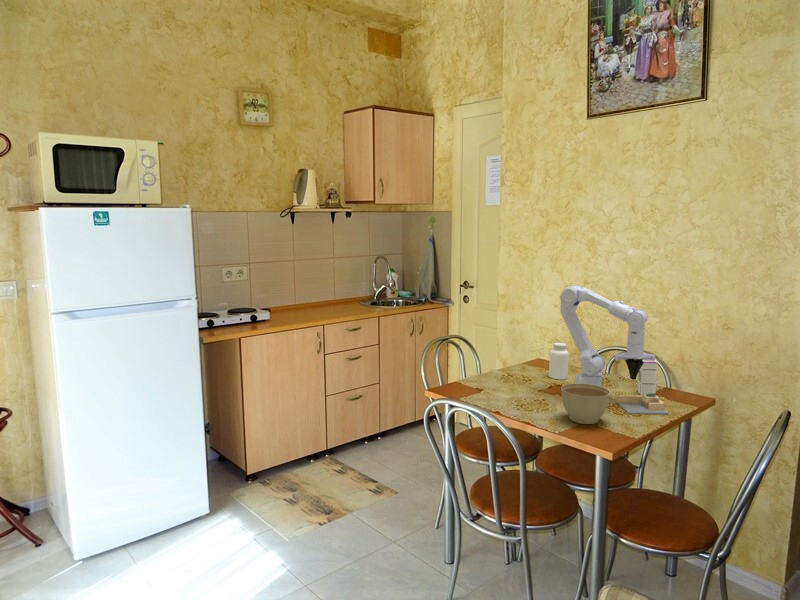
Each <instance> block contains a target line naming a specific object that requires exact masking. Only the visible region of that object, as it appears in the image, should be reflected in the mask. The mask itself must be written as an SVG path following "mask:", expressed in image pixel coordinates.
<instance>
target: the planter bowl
mask: <svg viewBox="0 0 800 600" xmlns="http://www.w3.org/2000/svg"><path fill="white" fill-rule="evenodd" d="M560 391H561V401H562V405H563V408H564V410H565V411H566V412H567V414H568V417H569V420H571V421H572V422H575V423H578V424H584V425H593V424H597V423H598V422H599V419H600V418H601V417H602V416H603V415H604V414H605V412H606V410H607V409H608V406H609V403H610V397H611V391H610V389H608V388H607V387H603V386H602V387H601V386H598V385H592V384H583V383H576V382H574V383H573V382H572V383H566V384H564V385H562V386H561V387H560Z"/></svg>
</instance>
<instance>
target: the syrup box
mask: <svg viewBox="0 0 800 600" xmlns="http://www.w3.org/2000/svg"><path fill="white" fill-rule="evenodd" d="M642 361H643V362H644V364H643V365H642V367H641V368H640V370H639V372H638V374H637V392H638V395H642V394H646V393H655V394H656V391H657V390H656V389H657V388H656V387H657V371H658V360H657V359H656V358H655V361H652V360H642Z"/></svg>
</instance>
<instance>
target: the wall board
mask: <svg viewBox="0 0 800 600" xmlns="http://www.w3.org/2000/svg"><path fill="white" fill-rule="evenodd" d="M641 401H642V395H640V394H635V395H634V394H616V404H617V405H618V406H619V407H620V408H622V409H623V410H624V411H625V412H626V413H627V414H628V415H669V412H668V411H667V410H666V409H665V402H664V401H663V400H661V399H660V400H659V403H648V409H646V408H645V407H644V406H642V405H641Z"/></svg>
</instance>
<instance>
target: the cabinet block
mask: <svg viewBox="0 0 800 600" xmlns="http://www.w3.org/2000/svg"><path fill="white" fill-rule="evenodd" d="M659 400H661V399H660V397H659V396H658V395H656V392H655V393H646V394H642V401H641V405H642V406H644V407H645V408H646V409H648V403H659Z"/></svg>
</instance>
